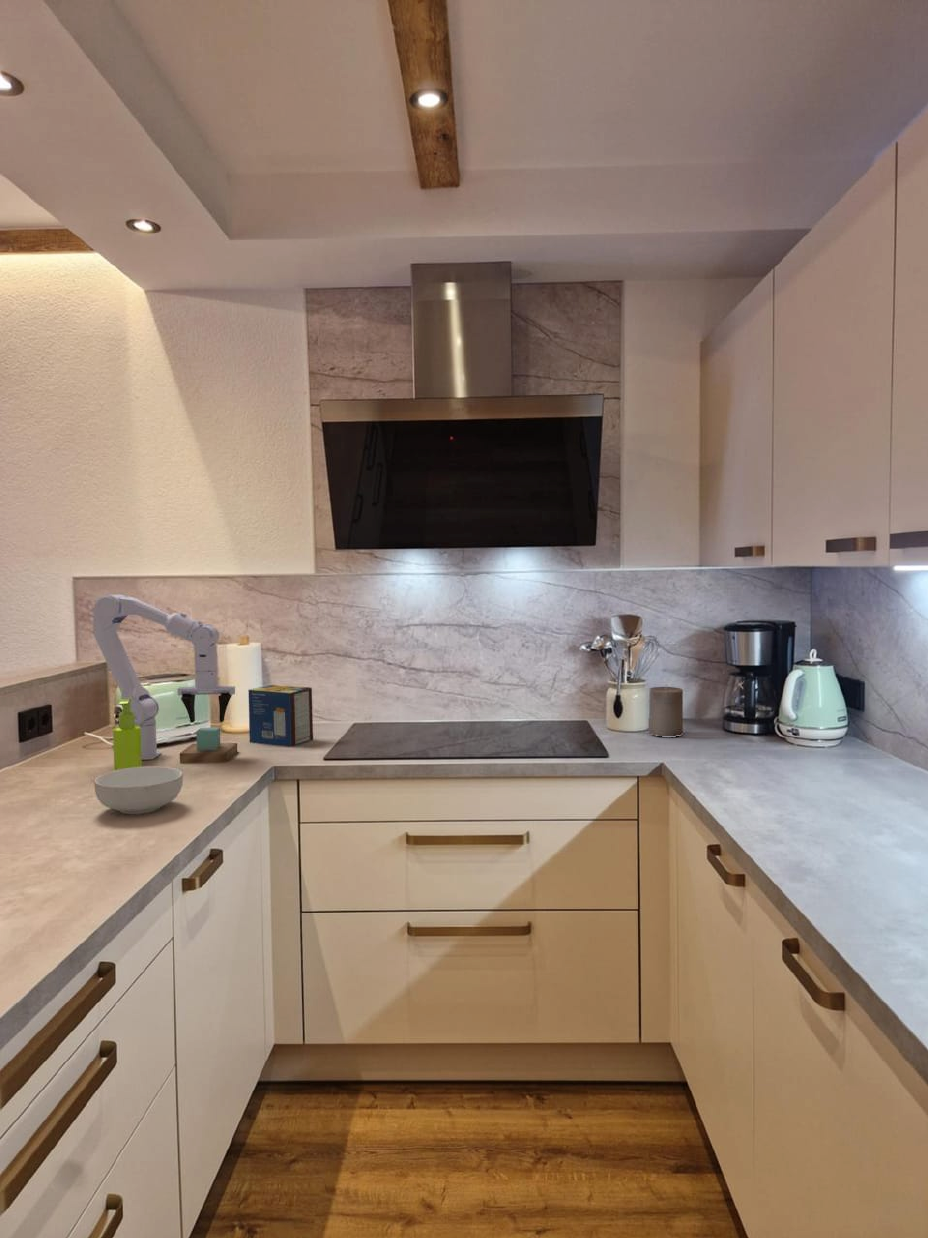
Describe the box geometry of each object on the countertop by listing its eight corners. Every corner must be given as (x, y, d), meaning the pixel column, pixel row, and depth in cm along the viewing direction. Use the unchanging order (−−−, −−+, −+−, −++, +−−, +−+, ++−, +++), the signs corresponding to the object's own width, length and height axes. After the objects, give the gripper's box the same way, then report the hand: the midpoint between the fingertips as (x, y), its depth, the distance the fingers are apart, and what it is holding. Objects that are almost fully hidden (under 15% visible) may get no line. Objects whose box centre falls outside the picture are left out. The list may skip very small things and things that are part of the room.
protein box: (272, 735, 241) (270, 684, 240) (313, 740, 234) (312, 687, 234) (248, 742, 232) (247, 689, 231) (291, 747, 225) (290, 692, 224)
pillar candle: (676, 731, 243) (676, 682, 242) (687, 737, 233) (687, 686, 232) (644, 732, 242) (644, 682, 241) (654, 738, 233) (654, 687, 232)
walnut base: (179, 765, 207) (179, 753, 207) (192, 754, 219) (192, 743, 219) (227, 764, 207) (226, 752, 207) (237, 753, 219) (237, 742, 219)
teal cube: (196, 750, 210) (196, 731, 210) (201, 746, 215) (200, 727, 215) (216, 750, 211) (215, 731, 210) (220, 745, 216) (219, 727, 215)
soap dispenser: (112, 789, 181) (109, 701, 180) (116, 782, 188) (114, 697, 187) (140, 787, 183) (137, 700, 182) (143, 780, 189) (141, 696, 188)
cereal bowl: (88, 825, 156) (87, 789, 155) (101, 801, 172) (100, 769, 171) (181, 816, 160) (180, 782, 160) (185, 795, 176) (184, 763, 176)
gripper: (173, 673, 208) (175, 724, 209) (230, 672, 209) (231, 723, 210) (181, 669, 215) (182, 720, 216) (236, 669, 216) (237, 719, 217)
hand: (207, 721), depth 213 cm, fingers open, 7 cm apart
